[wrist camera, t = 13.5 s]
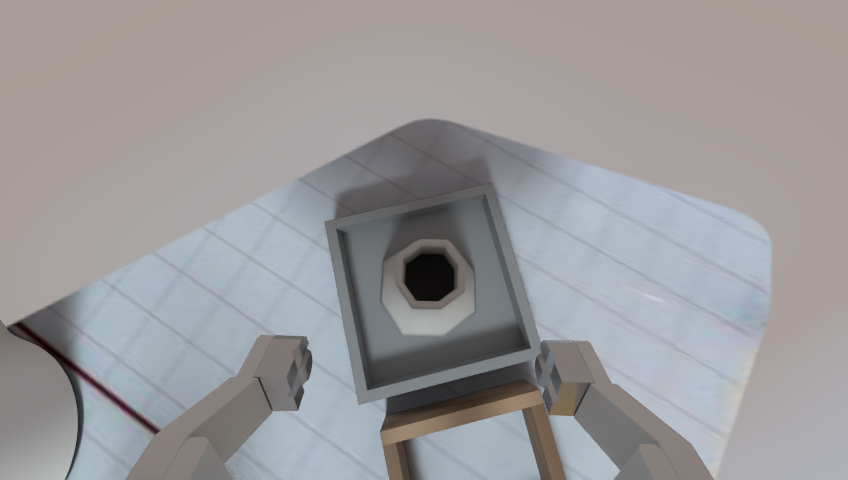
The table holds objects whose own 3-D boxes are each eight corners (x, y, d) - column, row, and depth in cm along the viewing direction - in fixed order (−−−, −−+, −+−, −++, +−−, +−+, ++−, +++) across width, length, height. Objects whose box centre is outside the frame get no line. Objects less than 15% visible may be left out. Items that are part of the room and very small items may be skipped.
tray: (365, 394, 23) (358, 404, 21) (333, 229, 26) (324, 221, 23) (532, 351, 24) (544, 356, 21) (486, 194, 26) (492, 182, 24)
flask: (367, 254, 24) (329, 219, 15) (459, 227, 25) (482, 175, 15) (394, 351, 23) (371, 384, 13) (491, 321, 23) (538, 330, 14)
